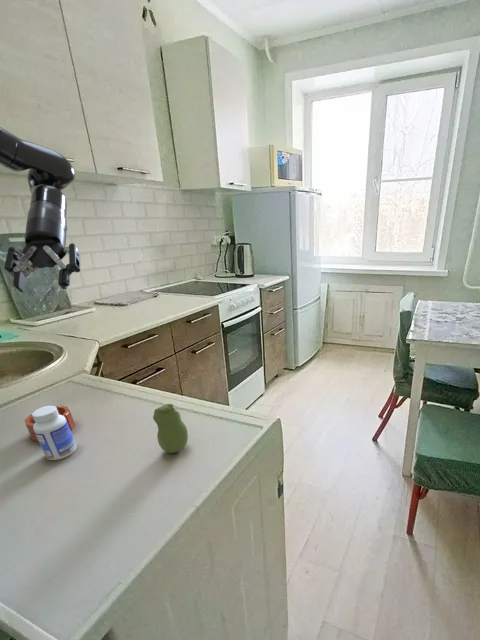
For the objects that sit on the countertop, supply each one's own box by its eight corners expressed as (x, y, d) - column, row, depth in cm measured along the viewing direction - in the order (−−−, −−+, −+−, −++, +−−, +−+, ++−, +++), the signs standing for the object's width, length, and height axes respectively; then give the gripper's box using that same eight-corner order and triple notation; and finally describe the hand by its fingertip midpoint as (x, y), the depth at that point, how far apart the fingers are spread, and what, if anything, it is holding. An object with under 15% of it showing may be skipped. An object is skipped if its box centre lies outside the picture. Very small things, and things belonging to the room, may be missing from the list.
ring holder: (22, 438, 76) (15, 422, 74) (56, 418, 82) (50, 403, 81) (50, 444, 73) (44, 428, 71) (83, 423, 80) (77, 408, 78)
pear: (170, 462, 66) (158, 416, 61) (155, 451, 69) (144, 407, 64) (195, 448, 69) (186, 404, 65) (180, 438, 72) (171, 395, 68)
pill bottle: (79, 442, 73) (64, 401, 69) (74, 457, 69) (57, 414, 64) (50, 448, 72) (32, 406, 67) (42, 464, 67) (23, 420, 63)
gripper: (1, 217, 76) (-8, 280, 71) (71, 213, 78) (67, 275, 73) (23, 241, 83) (17, 301, 78) (87, 238, 85) (84, 295, 80)
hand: (41, 288), depth 75 cm, fingers open, 8 cm apart
